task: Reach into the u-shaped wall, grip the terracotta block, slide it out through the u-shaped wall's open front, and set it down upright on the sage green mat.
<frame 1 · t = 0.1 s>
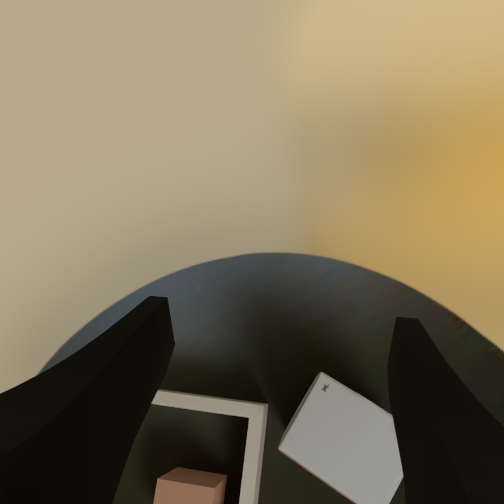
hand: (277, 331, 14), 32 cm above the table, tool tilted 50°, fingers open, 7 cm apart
small box: (336, 426, 42), on the table
u-shaped wall: (193, 496, 42), on the table
block: (198, 496, 42), on the table
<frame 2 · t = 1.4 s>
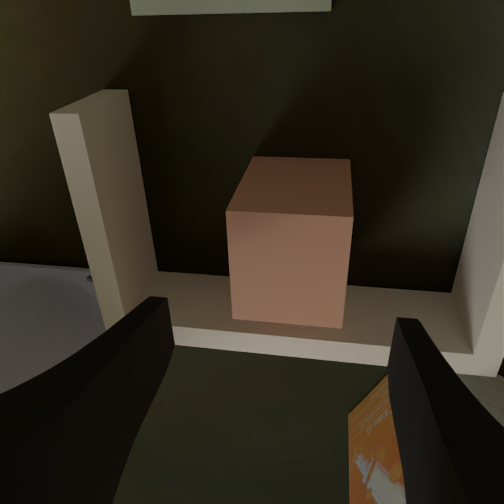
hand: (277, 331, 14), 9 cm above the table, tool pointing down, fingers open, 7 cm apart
small box: (423, 394, 27), on the table
u-shaped wall: (299, 197, 21), on the table
block: (299, 206, 22), on the table
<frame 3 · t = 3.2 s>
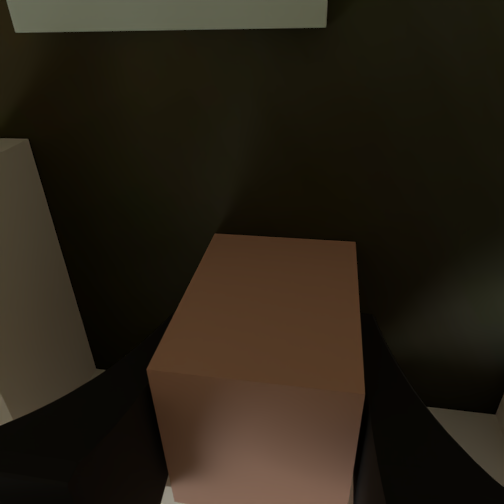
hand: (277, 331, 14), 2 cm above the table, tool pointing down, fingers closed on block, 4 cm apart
u-shaped wall: (282, 288, 15), on the table
block: (282, 300, 15), on the table, touching gripper
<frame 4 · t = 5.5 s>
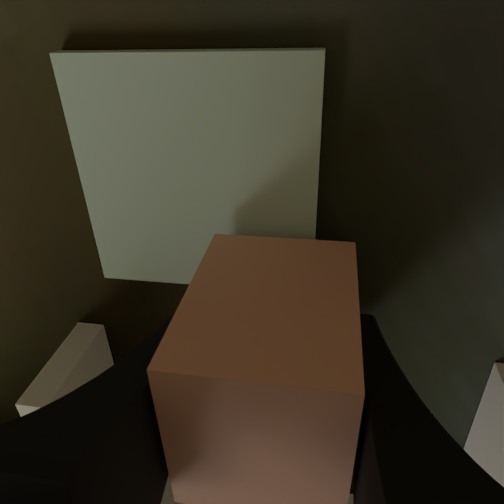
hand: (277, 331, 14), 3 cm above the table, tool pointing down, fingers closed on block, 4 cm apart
u-shaped wall: (284, 421, 20), on the table
mat: (198, 178, 15), on the table
block: (282, 300, 15), point 1 cm above the table, touching gripper
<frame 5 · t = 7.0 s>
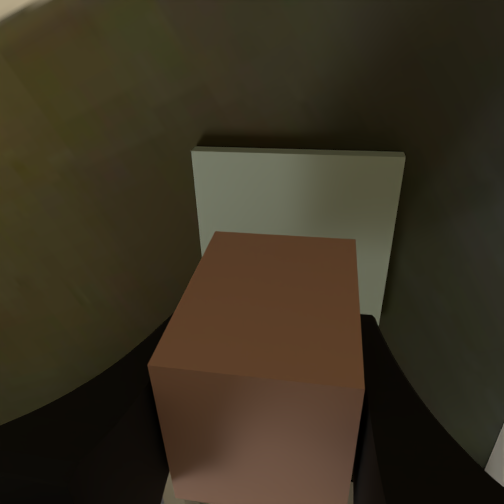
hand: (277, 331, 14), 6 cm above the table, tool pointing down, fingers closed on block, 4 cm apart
u-shaped wall: (341, 427, 25), on the table
mat: (293, 239, 19), on the table
block: (282, 297, 15), point 4 cm above the table, touching gripper
when the fingers open (3 cm above the table, at t = 8.3 s): block stays where it is, resting on mat.
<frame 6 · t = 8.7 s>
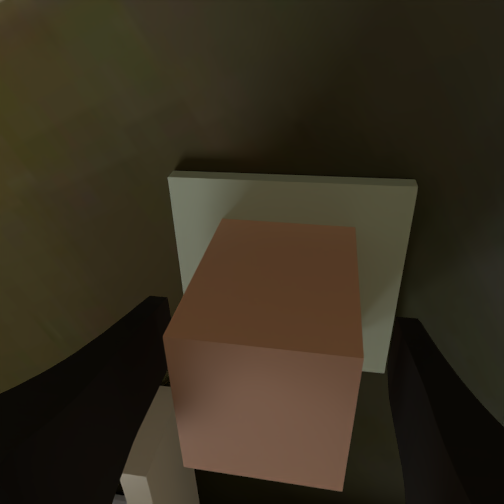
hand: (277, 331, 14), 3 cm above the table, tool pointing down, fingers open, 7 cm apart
u-shaped wall: (342, 473, 22), on the table
mat: (287, 274, 17), on the table
block: (285, 283, 16), point 1 cm above the table, touching mat
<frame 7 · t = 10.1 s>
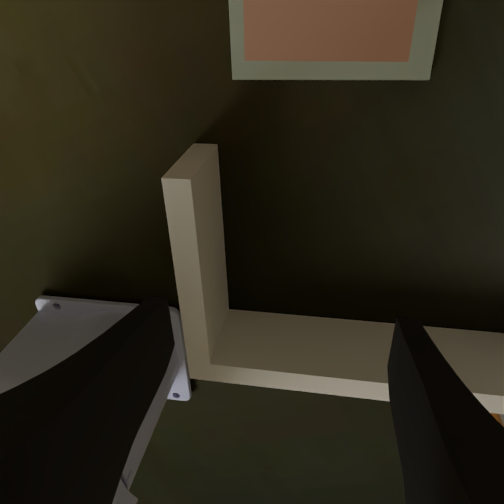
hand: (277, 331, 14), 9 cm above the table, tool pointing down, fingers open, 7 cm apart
u-shaped wall: (377, 244, 22), on the table
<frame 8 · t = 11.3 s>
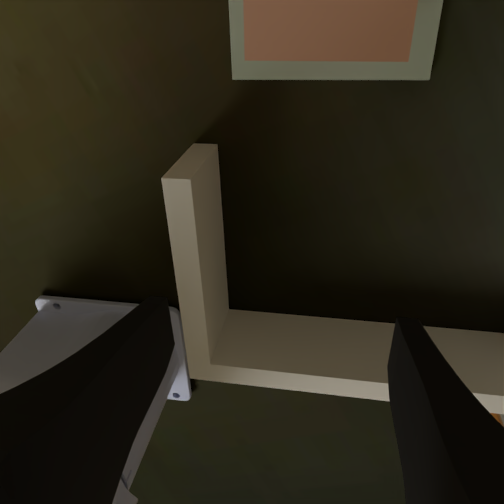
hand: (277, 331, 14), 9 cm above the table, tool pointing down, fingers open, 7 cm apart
u-shaped wall: (377, 244, 22), on the table
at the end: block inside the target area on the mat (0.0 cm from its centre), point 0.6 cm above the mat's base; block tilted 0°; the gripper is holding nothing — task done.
